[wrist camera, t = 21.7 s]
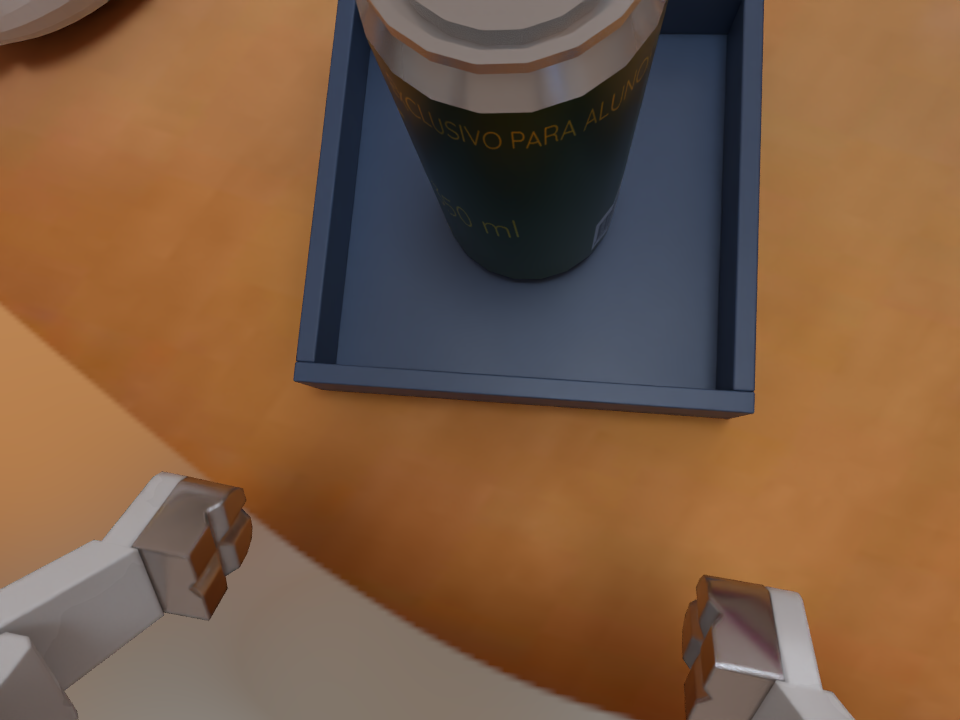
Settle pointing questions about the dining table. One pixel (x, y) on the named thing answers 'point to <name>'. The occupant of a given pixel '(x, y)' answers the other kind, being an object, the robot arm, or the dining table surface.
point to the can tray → (568, 295)
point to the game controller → (40, 17)
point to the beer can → (519, 115)
